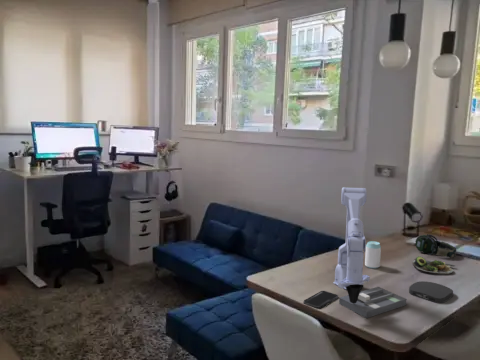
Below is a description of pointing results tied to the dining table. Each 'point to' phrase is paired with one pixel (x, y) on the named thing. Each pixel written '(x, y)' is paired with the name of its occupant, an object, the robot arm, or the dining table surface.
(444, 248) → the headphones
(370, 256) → the can
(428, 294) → the media streaming box
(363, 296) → the block
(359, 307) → the panel
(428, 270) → the salad plate
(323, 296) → the phone
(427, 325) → the dining table surface
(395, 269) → the dining table surface
